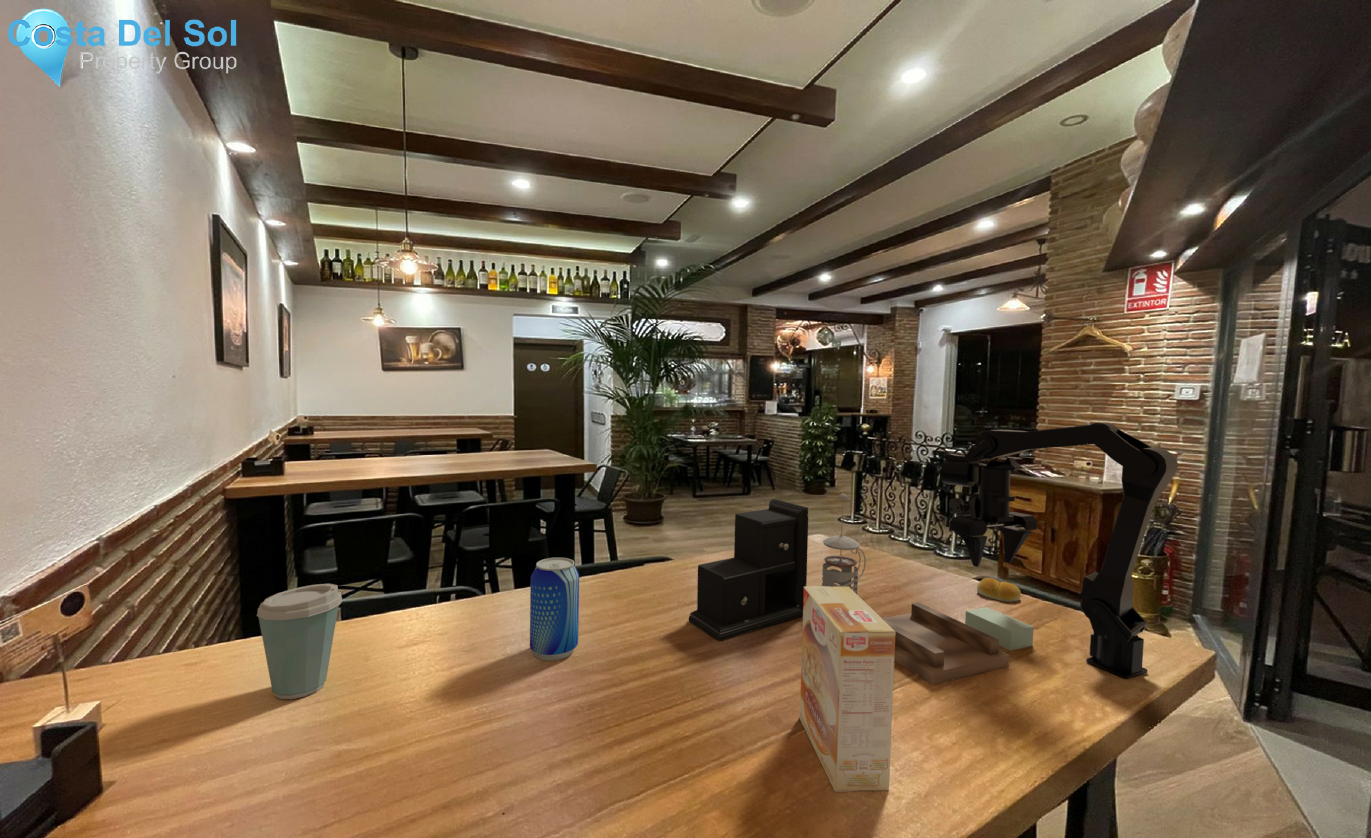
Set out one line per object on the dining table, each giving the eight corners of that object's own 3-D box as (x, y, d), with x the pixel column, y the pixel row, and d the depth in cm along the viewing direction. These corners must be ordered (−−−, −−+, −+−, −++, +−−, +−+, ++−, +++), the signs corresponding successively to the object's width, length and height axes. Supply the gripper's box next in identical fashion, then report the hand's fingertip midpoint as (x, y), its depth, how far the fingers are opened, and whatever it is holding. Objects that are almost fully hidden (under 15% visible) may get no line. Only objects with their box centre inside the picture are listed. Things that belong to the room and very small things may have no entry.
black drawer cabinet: (718, 642, 101) (722, 519, 100) (687, 621, 110) (690, 508, 109) (807, 616, 114) (811, 507, 113) (772, 599, 123) (775, 498, 122)
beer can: (519, 655, 94) (520, 565, 93) (552, 636, 102) (553, 553, 101) (556, 667, 90) (557, 573, 89) (587, 647, 98) (589, 560, 97)
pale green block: (1032, 647, 103) (1033, 626, 103) (1010, 652, 101) (1011, 631, 100) (985, 625, 112) (986, 607, 112) (964, 629, 110) (965, 610, 110)
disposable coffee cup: (241, 712, 76) (240, 608, 75) (277, 674, 86) (276, 582, 85) (327, 702, 79) (327, 602, 78) (352, 666, 89) (351, 577, 88)
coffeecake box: (797, 717, 78) (802, 585, 77) (845, 716, 78) (850, 585, 78) (832, 793, 63) (839, 631, 62) (891, 791, 64) (898, 630, 63)
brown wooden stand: (1008, 665, 95) (1009, 641, 94) (932, 684, 88) (933, 657, 87) (919, 620, 113) (920, 599, 113) (851, 633, 106) (851, 611, 106)
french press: (807, 597, 125) (811, 491, 123) (846, 591, 129) (850, 488, 128) (836, 613, 116) (840, 499, 114) (877, 606, 121) (881, 495, 119)
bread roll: (1018, 606, 123) (1019, 589, 123) (974, 596, 129) (975, 580, 129) (1023, 596, 130) (1023, 580, 129) (981, 587, 135) (982, 571, 135)
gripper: (992, 482, 122) (990, 550, 123) (929, 486, 116) (927, 558, 116) (1039, 490, 112) (1037, 564, 112) (973, 494, 105) (971, 573, 106)
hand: (992, 564), depth 112 cm, fingers open, 9 cm apart
